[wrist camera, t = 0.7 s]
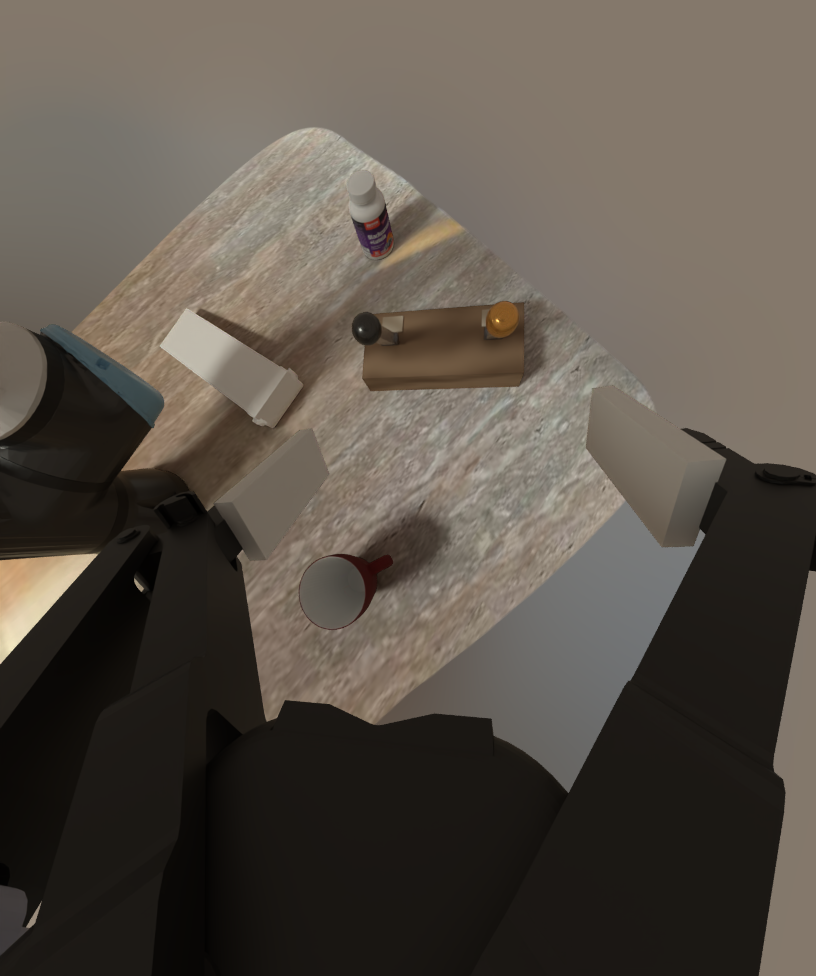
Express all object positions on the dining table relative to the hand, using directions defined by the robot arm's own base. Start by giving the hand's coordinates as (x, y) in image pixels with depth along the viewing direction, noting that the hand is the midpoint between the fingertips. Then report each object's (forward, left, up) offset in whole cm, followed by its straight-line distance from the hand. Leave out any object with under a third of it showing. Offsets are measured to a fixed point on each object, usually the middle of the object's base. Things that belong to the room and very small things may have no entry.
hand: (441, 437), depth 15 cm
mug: (-5, -16, -29) cm, 34 cm away
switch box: (-13, +17, -29) cm, 36 cm away
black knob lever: (-19, +14, -24) cm, 33 cm away
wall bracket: (-44, -1, -30) cm, 53 cm away
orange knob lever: (-7, +21, -24) cm, 32 cm away
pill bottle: (-33, +29, -29) cm, 53 cm away
